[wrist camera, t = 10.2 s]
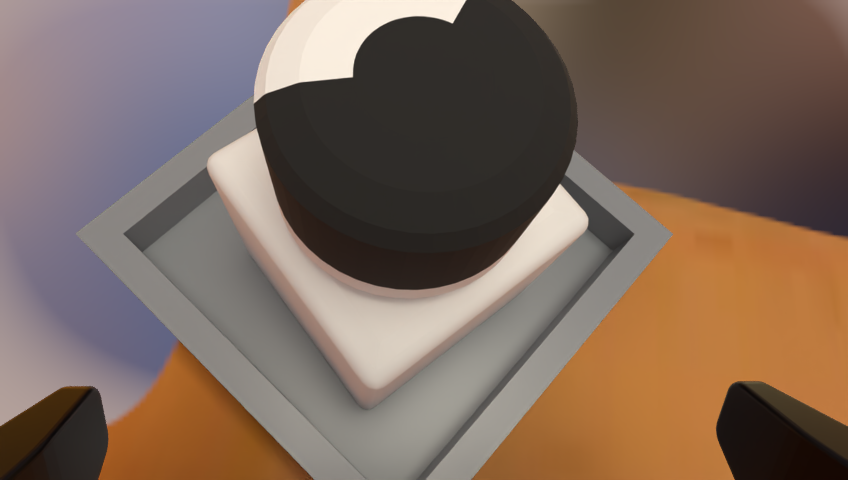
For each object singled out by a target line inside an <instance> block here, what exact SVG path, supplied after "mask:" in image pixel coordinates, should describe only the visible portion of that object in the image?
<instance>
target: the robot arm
mask: <svg viewBox="0 0 848 480" xmlns="http://www.w3.org/2000/svg"><path fill="white" fill-rule="evenodd" d="M716 433H717V438H718V441H719V444H720V446H721V449H722V451H723V453H724V456H725V458H726V460H727V463H728V465H729V467H730V470H731V472H732V474H733V477H734V479H735V480H848V426H846V425H844V424H842V423H840V422H838V421H836V420H834V419H833V418H831V417H829V416H827V415H825V414H823V413H821V412H819V411H817V410H815V409H814V408H812V407H810V406H808V405H806V404H804V403H802V402H800V401H798V400H796V399H794V398H793V397H791V396H789V395H787V394H785V393H783V392H781V391H779V390H777V389H775V388H774V387H772V386H770V385H768V384H766V383H764V382H760V381H738V382H735V383H733V384H732V385H731V386H730V387H729V389H728V392H727V395H726V398H725V401H724V403H723V406H722V409H721V412H720V415H719V418H718V421H717V426H716ZM107 447H108V430H107V425H106V420H105V415H104V410H103V405H102V400H101V396H100V393H99V391H98V389H96V388H95V387H92V386H69V387H63V388H61V389H59V390H57V391H55V392H54V393H52V394H51V395H49V396H47V397H46V398H44V399H43V400H41V401H39V402H38V403H36V404H35V405H33V406H32V407H30V408H29V409H27V410H26V411H24V412H22V413H20V414H19V415H17V416H16V417H14V418H13V419H11V420H9V421H8V422H6V423H5V424H3V425H2V426H0V480H98V478H99V475H100V472H101V468H102V465H103V462H104V459H105V456H106V452H107Z"/></svg>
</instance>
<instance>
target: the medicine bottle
mask: <svg viewBox="0 0 848 480" xmlns="http://www.w3.org/2000/svg"><path fill="white" fill-rule="evenodd" d="M254 113H255V123H256V129H255V130H253V131H251V132H249V133H248V134H246V135H244V136H242V137H241V138H239V139H237V140H236V141H234V142H232V143H230V144H229V145H227V146H225V147H223V148H222V149H220V150H218V151H217V152H215V153H213V154H212V155H211V156H210V157H209V159H208V163H207V170H208V173H209V175H210V177H211V179H212V181H213V183H214V185H215V187H216V189H217V191H218V193H219V195H220V197H221V199H222V201H223V203H224V205H225V207H226V209H227V211H228V213H229V215H230V217H231V219H232V221H233V223H234V225H235V227H236V229H237V231H238V233H239V235H240V236H241V238H242V240H243V242H244V244H245V246H246V248H247V250H248V252H249V254H250V255H251V257H252V258H253V260H254V261H255V262H256V264H257V265H258V267H259V268H260V269H261V271H262V272H263V273H264V275H265V276H266V278H267V279H268V280H269V282H270V283H271V285H272V286H273V287H274V289H275V290H276V291H277V293H278V294H279V296H280V297H281V298H282V300H283V301H284V303H285V304H286V305H287V307H288V308H289V309H290V311H291V312H292V314H293V315H294V316H295V318H296V319H297V321H298V322H299V323H300V325H301V326H302V328H303V329H304V330H305V332H306V333H307V334H308V336H309V337H310V339H311V340H312V341H313V343H314V344H315V346H316V347H317V348H318V350H319V351H320V352H321V354H322V355H323V357H324V358H325V359H326V361H327V362H328V364H329V365H330V366H331V368H332V369H333V371H334V372H335V373H336V375H337V376H338V377H339V379H340V380H341V382H342V383H343V384H344V386H345V387H346V389H347V390H348V391H349V393H350V394H351V395H352V397H353V398H354V400H355V401H356V402H357V404H358V405H359V406H360V407H361V408H363V409H368V410H369V409H371V408H374V407H375V406H377V405H378V404H379V403H381V402H382V401H383V400H384V399H386V398H387V397H388V396H390V395H391V394H392V393H393V392H395V391H396V390H397V389H398V388H400V387H401V386H402V385H404V384H405V383H406V382H407V381H409V380H410V379H411V378H413V377H414V376H415V375H416V374H418V373H419V372H420V371H422V370H423V369H424V368H425V367H427V366H428V365H429V364H430V363H432V362H433V361H434V360H436V359H437V358H438V357H439V356H441V355H442V354H443V353H445V352H446V351H447V350H448V349H450V348H451V347H452V346H454V345H455V344H456V343H457V342H459V341H460V340H461V339H462V338H464V337H465V336H466V335H468V334H469V333H470V332H471V331H473V330H474V329H475V328H477V327H478V326H479V325H480V324H482V323H483V322H484V321H486V320H487V319H488V318H489V317H491V316H492V315H493V314H494V313H496V312H497V311H498V310H500V309H501V308H502V307H503V306H505V305H506V304H507V303H509V302H510V301H511V300H512V299H514V298H515V297H516V296H518V295H519V294H520V293H521V292H522V291H523V290H524V289H525V288H526V287H527V286H528V285H529V284H531V283H532V282H533V281H534V280H535V279H536V278H537V277H538V276H539V275H540V274H541V273H542V272H543V271H544V270H545V269H546V268H547V267H548V266H549V265H550V264H552V263H553V262H554V261H555V260H556V259H557V258H558V257H559V256H560V255H561V254H562V253H563V252H564V251H565V250H566V249H567V248H568V247H569V246H570V245H572V244H573V243H574V242H575V241H576V240H577V239H578V238H579V237H580V236H581V235H582V234H583V233H584V232H585V230H586V229H587V227H588V217H587V215H586V213H585V212H584V210H583V209H582V208H581V207H580V206H579V205H578V204H577V202H576V201H575V200H574V199H573V198H572V197H571V196H570V194H569V193H568V192H567V191H566V190H565V189H564V188H563V186H562V185H561V184H560V183H561V181H562V180H563V178H564V175H565V173H566V171H567V169H568V166H569V164H570V162H571V159H572V155H573V151H574V147H575V143H576V135H577V126H578V118H577V103H576V98H575V94H574V88H573V84H572V81H571V79H570V76H569V73H568V71H567V68H566V66H565V64H564V62H563V60H562V58H561V56H560V54H559V53H558V50H557V49H556V47H555V46H554V45H553V43H552V42H551V40H550V39H549V38H548V36H547V35H546V33H545V32H544V31H543V30H542V29H541V28H540V27H539V26H538V25H537V23H536V22H535V21H534V20H533V19H532V18H531V17H530V16H529V15H528V14H527V13H526V12H525V11H524V10H523V9H521V8H520V7H519V6H518V5H517V4H515V3H514V2H513V1H512V0H305V1H304V2H303V3H302V4H301V5H300V6H298V7H297V8H296V9H295V10H294V11H293V12H292V13H291V14H290V15H289V16H288V17H287V18H286V19H285V20H284V22H283V23H282V24H281V25H280V26H279V28H278V29H277V30H276V32H275V34H274V35H273V37H272V38H271V40H270V42H269V43H268V45H267V47H266V50H265V52H264V54H263V57H262V59H261V61H260V64H259V69H258V72H257V77H256V81H255V89H254Z"/></svg>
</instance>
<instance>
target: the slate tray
mask: <svg viewBox="0 0 848 480" xmlns="http://www.w3.org/2000/svg"><path fill="white" fill-rule="evenodd" d="M255 129H256V123H255V113H254V95H253V96H251V97H250V98H249V99H247V100H246V101H245V102H244V103H242V104H241V105H240V106H238V107H237V108H236V109H235V110H233V111H232V112H231V113H230V114H228V115H227V116H226V117H224V118H223V119H222V120H221V121H219V122H218V123H217V124H215V125H214V126H213V127H212V128H210V129H209V130H208V131H207V132H205V133H204V134H203V135H201V136H200V137H199V138H198V139H196V140H195V141H194V142H192V143H191V144H190V145H189V146H187V147H186V148H185V149H184V150H182V151H181V152H180V153H178V154H177V155H176V156H174V157H173V158H172V159H171V160H169V161H168V162H167V163H165V164H164V165H163V166H162V167H160V168H159V169H158V170H156V171H155V172H154V173H153V174H151V175H150V176H149V177H148V178H146V179H145V180H144V181H142V182H141V183H140V184H139V185H137V186H136V187H135V188H133V189H132V190H131V191H130V192H128V193H127V194H126V195H124V196H123V197H122V198H121V199H119V200H118V201H117V202H116V203H114V204H113V205H112V206H110V207H109V208H108V209H106V210H105V211H104V212H103V213H101V214H100V215H99V216H97V217H96V218H95V219H94V220H92V221H91V222H90V223H89V224H87V225H86V226H85V227H83V228H82V229H81V230H80V231H78V232H77V233H76V234H77V236H78V237H79V238H80V239H81V240H82V241H83V242H84V243H85V244H86V245H87V246H88V247H89V248H90V249H91V250H92V251H93V252H94V253H95V254H96V255H97V256H98V257H99V258H100V259H101V260H102V261H103V262H104V263H105V264H106V265H107V266H108V267H109V269H111V271H112V272H114V274H115V275H116V276H117V277H118V278H119V279H120V280H121V281H122V282H123V283H124V284H125V285H126V286H127V287H128V288H129V289H130V290H131V291H132V292H133V293H134V294H135V295H136V296H137V297H138V298H139V299H140V300H141V301H142V303H144V305H145V306H146V307H147V308H148V309H150V311H151V312H152V313H153V314H154V315H155V316H156V317H157V318H158V319H159V320H160V321H161V322H162V323H163V324H164V325H165V326H166V327H167V328H168V329H169V330H170V331H171V332H172V333H173V334H174V335H175V337H177V339H178V340H179V341H180V342H181V343H182V344H183V345H184V346H185V347H186V348H187V349H188V350H189V351H190V352H191V353H192V354H193V355H194V356H195V357H196V358H197V359H198V360H199V361H200V362H201V363H202V364H203V365H204V366H205V367H206V368H207V369H208V371H209V372H210V373H211V374H212V375H213V376H214V377H215V378H216V379H217V380H218V381H219V382H220V383H221V384H222V385H223V386H224V387H225V388H226V389H227V390H228V391H229V392H230V393H231V394H232V395H233V396H234V397H235V398H236V399H237V400H238V401H239V402H240V403H241V405H242V406H243V407H244V408H245V409H246V410H247V411H248V412H249V413H250V414H251V415H252V416H253V417H254V418H255V419H256V420H257V421H258V422H259V423H260V424H261V425H262V426H263V427H264V428H265V429H266V430H267V431H268V432H269V433H270V434H271V435H272V436H273V437H274V439H275V440H276V441H277V442H278V443H279V444H280V445H281V446H282V447H283V448H284V449H285V450H286V451H287V452H288V453H289V454H290V455H291V456H292V457H293V458H294V459H295V460H296V461H297V462H298V463H299V464H300V465H301V466H302V467H303V468H304V469H305V470H306V471H307V473H308V474H309V475H310V476H311V477H312V478H313V479H314V480H471V479H472V478H473V477H474V476H475V474H476V473H477V472H478V471H479V470H480V468H481V467H482V466H483V465H484V463H485V462H486V461H487V460H488V459H489V457H490V456H491V455H492V454H493V453H494V451H495V450H496V449H497V448H498V446H499V445H500V444H501V443H502V442H503V440H504V439H505V438H506V437H507V435H508V434H509V433H510V432H511V431H512V429H513V428H514V427H515V426H516V425H517V423H518V422H519V421H520V420H521V418H522V417H523V416H524V415H525V414H526V412H527V411H528V410H529V409H530V408H531V406H532V405H533V404H534V403H535V401H536V400H537V399H538V398H539V397H540V395H541V394H542V393H543V392H544V391H545V389H546V388H547V387H548V386H549V384H550V383H551V382H552V381H553V380H554V378H555V377H556V376H557V375H558V373H559V372H560V371H561V370H562V369H563V367H564V366H565V365H566V364H567V363H568V361H569V360H570V359H571V358H572V356H573V355H574V354H575V353H576V352H577V350H578V349H579V348H580V347H581V346H582V344H583V343H584V342H585V341H586V339H587V338H588V337H589V336H590V335H591V333H592V332H593V331H594V330H595V329H596V327H597V326H598V325H599V324H600V322H601V321H602V320H603V319H604V318H605V316H606V315H607V314H608V313H609V312H610V310H611V309H612V308H613V307H614V305H615V304H616V303H617V302H618V301H619V299H620V298H621V297H622V296H623V294H624V293H625V292H626V291H627V290H628V288H629V287H630V286H631V285H632V284H633V282H634V281H635V280H636V279H637V277H638V276H639V275H640V274H641V273H642V271H643V270H644V269H645V268H646V267H647V265H648V264H649V263H650V262H651V260H652V259H653V258H654V257H655V256H656V254H657V253H658V252H659V251H660V250H661V248H662V247H663V246H664V245H665V243H666V242H667V241H668V240H669V239H670V237H671V236H672V235H673V234H672V233H671V232H670V231H669V230H668V229H666V228H665V227H664V226H663V225H662V224H661V223H659V222H658V221H657V220H656V219H655V218H653V217H652V216H651V215H650V214H649V213H648V212H646V211H645V210H644V209H643V208H642V207H640V206H639V205H638V204H637V203H636V202H635V201H633V200H632V199H631V198H630V197H629V196H627V195H626V194H625V193H624V192H623V191H621V190H620V189H619V188H618V187H617V186H616V185H614V184H613V183H612V182H611V181H610V180H608V179H607V178H606V177H605V176H604V175H603V174H601V173H600V172H599V171H598V170H597V169H595V168H594V167H593V166H592V165H590V163H588V162H587V161H586V160H585V159H584V158H582V157H581V156H580V155H579V154H578V153H576V152H575V151H573V155H572V159H571V162H570V164H569V166H568V169H567V171H566V173H565V175H564V178H563V180H562V181H561V183H560V184H561V185H562V186H563V188H564V189H565V190H566V191H567V192H568V193H569V194H570V196H571V197H572V198H573V199H574V200H575V201H576V202H577V204H578V205H579V206H580V207H581V208H582V209H583V210H584V212H585V213H586V215H587V217H588V227H587V229H586V230H585V232H584V233H583V234H582V235H581V236H580V237H579V238H578V239H577V240H576V241H575V242H574V243H573V244H572V245H570V246H569V247H568V248H567V249H566V250H565V251H564V252H563V253H562V254H561V255H560V256H559V257H558V258H557V259H556V260H555V261H554V262H553V263H552V264H550V265H549V266H548V267H547V268H546V269H545V270H544V271H543V272H542V273H541V274H540V275H539V276H538V277H537V278H536V279H535V280H534V281H533V282H532V283H531V284H529V285H528V286H527V287H526V288H525V289H524V290H523V291H522V292H521V293H520V294H519V295H518V296H516V297H515V298H514V299H512V300H511V301H510V302H509V303H507V304H506V305H505V306H503V307H502V308H501V309H500V310H498V311H497V312H496V313H494V314H493V315H492V316H491V317H489V318H488V319H487V320H486V321H484V322H483V323H482V324H480V325H479V326H478V327H477V328H475V329H474V330H473V331H471V332H470V333H469V334H468V335H466V336H465V337H464V338H462V339H461V340H460V341H459V342H457V343H456V344H455V345H454V346H452V347H451V348H450V349H448V350H447V351H446V352H445V353H443V354H442V355H441V356H439V357H438V358H437V359H436V360H434V361H433V362H432V363H430V364H429V365H428V366H427V367H425V368H424V369H423V370H422V371H420V372H419V373H418V374H416V375H415V376H414V377H413V378H411V379H410V380H409V381H407V382H406V383H405V384H404V385H402V386H401V387H400V388H398V389H397V390H396V391H395V392H393V393H392V394H391V395H390V396H388V397H387V398H386V399H384V400H383V401H382V402H381V403H379V404H378V405H377V406H375V407H374V408H371V409H369V410H368V409H363V408H361V407H360V406H359V405H358V404H357V402H356V401H355V400H354V398H353V397H352V395H351V394H350V393H349V391H348V390H347V389H346V387H345V386H344V384H343V383H342V382H341V380H340V379H339V377H338V376H337V375H336V373H335V372H334V371H333V369H332V368H331V366H330V365H329V364H328V362H327V361H326V359H325V358H324V357H323V355H322V354H321V352H320V351H319V350H318V348H317V347H316V346H315V344H314V343H313V341H312V340H311V339H310V337H309V336H308V334H307V333H306V332H305V330H304V329H303V328H302V326H301V325H300V323H299V322H298V321H297V319H296V318H295V316H294V315H293V314H292V312H291V311H290V309H289V308H288V307H287V305H286V304H285V303H284V301H283V300H282V298H281V297H280V296H279V294H278V293H277V291H276V290H275V289H274V287H273V286H272V285H271V283H270V282H269V280H268V279H267V278H266V276H265V275H264V273H263V272H262V271H261V269H260V268H259V267H258V265H257V264H256V262H255V261H254V260H253V258H252V257H251V255H250V254H249V252H248V250H247V248H246V246H245V244H244V242H243V240H242V238H241V236H240V235H239V233H238V231H237V229H236V227H235V225H234V223H233V221H232V219H231V217H230V215H229V213H228V211H227V209H226V207H225V205H224V203H223V201H222V199H221V197H220V195H219V193H218V191H217V189H216V187H215V185H214V183H213V181H212V179H211V177H210V175H209V173H208V170H207V163H208V159H209V157H210V156H211V155H212V154H213V153H215V152H217V151H218V150H220V149H222V148H223V147H225V146H227V145H229V144H230V143H232V142H234V141H236V140H237V139H239V138H241V137H242V136H244V135H246V134H248V133H249V132H251V131H253V130H255Z"/></svg>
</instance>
